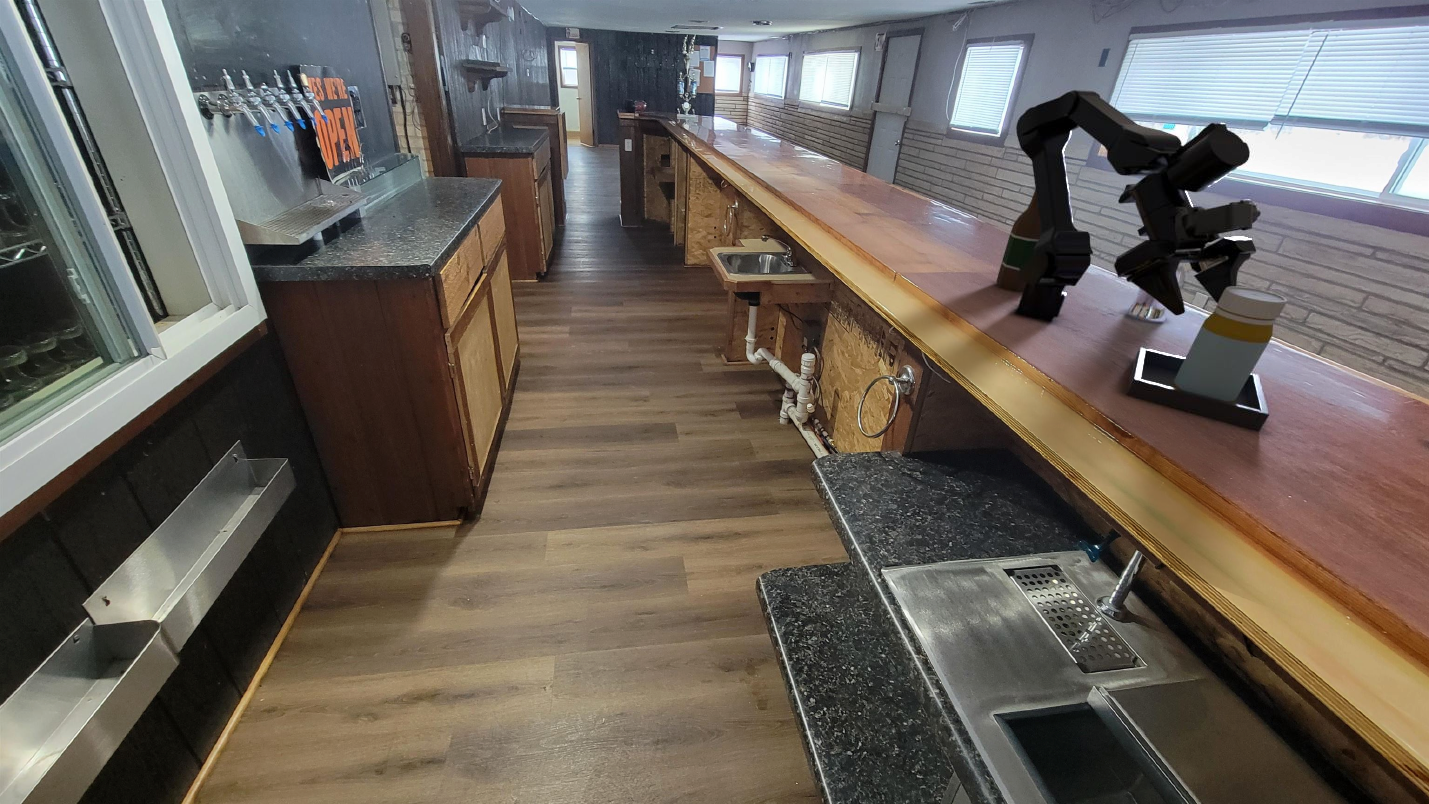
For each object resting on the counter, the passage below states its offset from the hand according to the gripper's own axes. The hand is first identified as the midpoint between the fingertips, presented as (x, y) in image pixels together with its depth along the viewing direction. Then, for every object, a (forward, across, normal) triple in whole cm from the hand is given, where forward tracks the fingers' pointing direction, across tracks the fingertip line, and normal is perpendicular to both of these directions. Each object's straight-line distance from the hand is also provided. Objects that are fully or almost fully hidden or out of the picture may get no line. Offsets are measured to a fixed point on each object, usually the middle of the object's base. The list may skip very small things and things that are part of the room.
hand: (1206, 312), depth 77 cm
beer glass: (-9, +24, +25) cm, 36 cm away
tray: (+10, +1, +6) cm, 12 cm away
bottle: (+11, 0, +5) cm, 12 cm away
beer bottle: (-23, +10, +39) cm, 47 cm away
